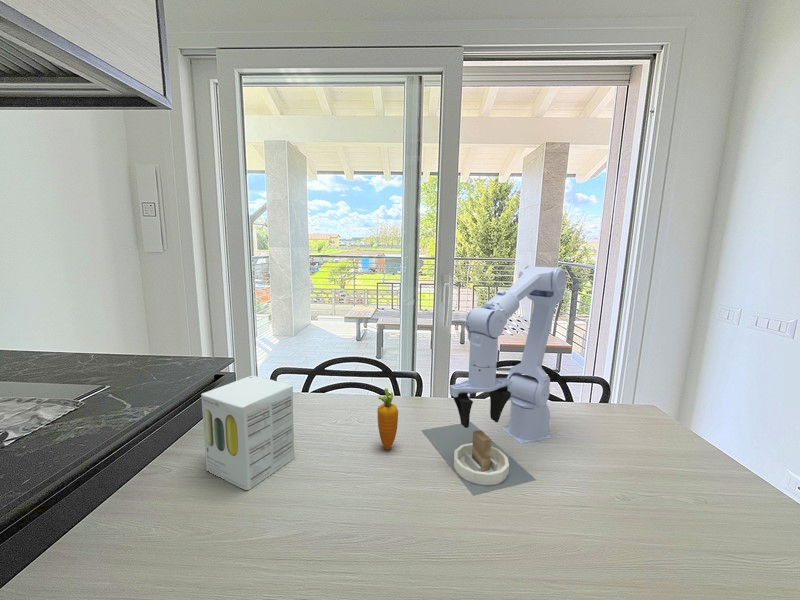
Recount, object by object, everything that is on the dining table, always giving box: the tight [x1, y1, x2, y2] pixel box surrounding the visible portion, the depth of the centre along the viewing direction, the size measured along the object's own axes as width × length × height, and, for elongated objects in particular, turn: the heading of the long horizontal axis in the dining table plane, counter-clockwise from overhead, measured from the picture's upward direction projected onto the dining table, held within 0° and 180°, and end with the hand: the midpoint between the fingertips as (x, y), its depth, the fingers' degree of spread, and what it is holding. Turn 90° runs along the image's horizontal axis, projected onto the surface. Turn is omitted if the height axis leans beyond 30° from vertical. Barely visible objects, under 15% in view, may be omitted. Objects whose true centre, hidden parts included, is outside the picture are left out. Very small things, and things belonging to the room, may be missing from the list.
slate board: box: [420, 421, 537, 497], centre depth 82 cm, size 15×26×1 cm, turn 19°
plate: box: [454, 443, 509, 486], centre depth 76 cm, size 11×11×2 cm
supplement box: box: [200, 374, 296, 491], centre depth 75 cm, size 13×13×18 cm
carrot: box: [377, 387, 399, 451], centre depth 82 cm, size 5×5×15 cm
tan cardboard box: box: [472, 429, 492, 472], centre depth 75 cm, size 2×4×7 cm, turn 19°
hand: (479, 422), depth 77 cm, fingers open, 7 cm apart
